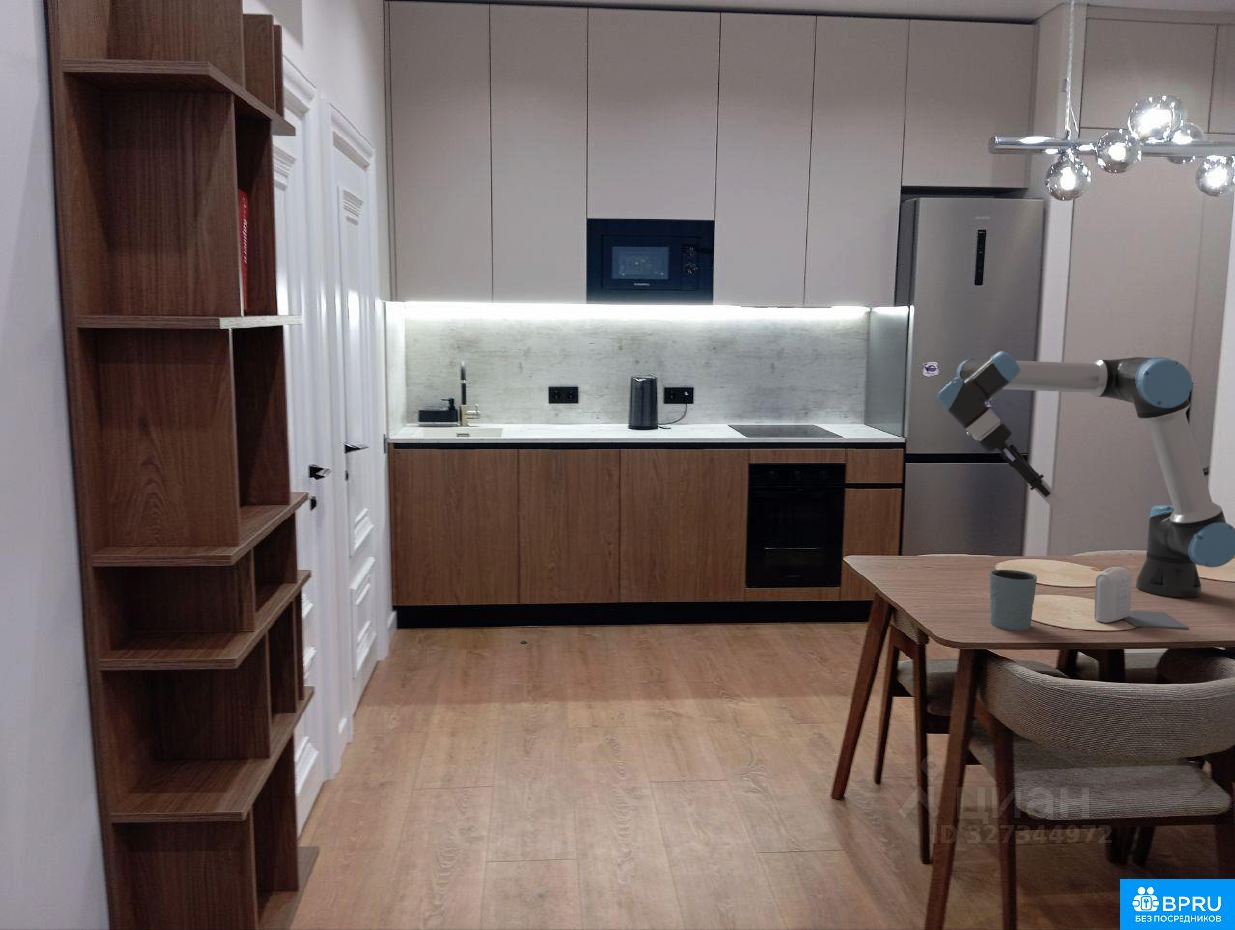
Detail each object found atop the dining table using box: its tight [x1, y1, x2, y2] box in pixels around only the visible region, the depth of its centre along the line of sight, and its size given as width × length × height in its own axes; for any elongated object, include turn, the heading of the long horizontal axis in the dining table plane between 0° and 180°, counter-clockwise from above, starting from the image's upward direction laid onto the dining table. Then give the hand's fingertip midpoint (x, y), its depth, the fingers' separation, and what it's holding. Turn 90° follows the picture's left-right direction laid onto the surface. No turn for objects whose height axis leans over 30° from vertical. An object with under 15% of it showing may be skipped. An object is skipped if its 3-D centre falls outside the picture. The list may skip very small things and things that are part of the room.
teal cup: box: [989, 569, 1038, 632], centre depth 225 cm, size 10×10×12 cm
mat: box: [1123, 610, 1190, 630], centre depth 233 cm, size 12×13×1 cm
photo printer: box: [1093, 566, 1133, 623], centre depth 231 cm, size 10×4×12 cm, turn 123°
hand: (1057, 503), depth 237 cm, fingers open, 4 cm apart
